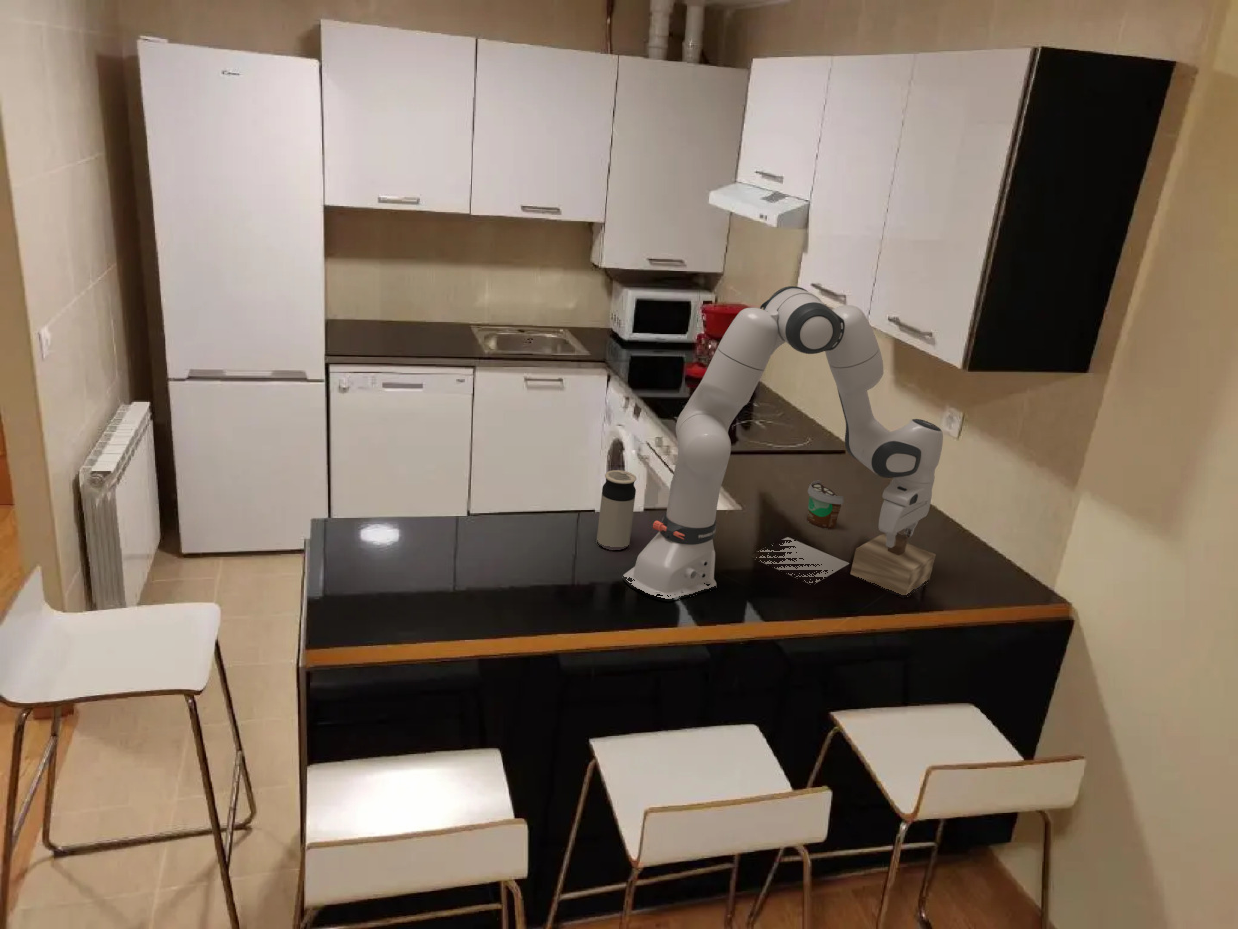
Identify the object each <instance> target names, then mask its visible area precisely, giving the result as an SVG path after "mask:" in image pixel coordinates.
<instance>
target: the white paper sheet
mask: <svg viewBox="0 0 1238 929" xmlns="http://www.w3.org/2000/svg"><path fill="white" fill-rule="evenodd" d="M782 540H791V541H792V542H790V543H788V542H789V541H788V542H787V543H786V541H785V543H784V544H783V543H782V544H783V545H780V544H779V545H780V546H795V547H796V548H795V547H794V548H793V547H791V548H790V547H789V548H790V549H789V548H785V549H784V550H783V549H782V550H780V551H774V550H771V551H770V550H768V549H767V550H765V551H764V550H762V549H760V550H759V551H760V552H772V551H773V552H786V553H785V556H784V555H783V556H784V557H783V556H779V557H778V556H777V557H778V558H785V559H786V558H791V559H792V558H797V559H796V560H797V561H796V560H794V559H793V560H794V561H795V562H794V561H792V560H791V561H790V560H788V559H786V560H785V561H783V560H782V561H783V562H782V561H780V562H779V563H777V562H775V561H774V562H775V563H774V562H772V561H770V560H769V561H770V562H769V561H767V562H765V561H764V562H765V563H764V562H762V561H761V560H760V561H761V562H760V561H759V562H760V563H763V564H765V565H767V564H772V563H773V564H804V565H805V564H810V565H811V564H814V565H815V564H816V565H817V564H819V565H820V566H819V565H817V566H816V565H815V566H816V567H815V566H813V565H811V566H810V565H809V567H808V566H807V565H806V566H804V565H803V567H802V566H800V565H799V566H800V567H799V566H797V567H798V568H797V567H796V566H795V567H796V568H797V569H796V568H795V567H793V566H791V565H790V566H791V567H789V566H787V565H786V566H787V567H786V566H785V568H784V567H783V566H781V567H782V568H781V567H779V568H778V567H777V568H775V567H774V569H775V570H778V571H780V570H822V571H821V572H822V573H821V572H820V574H819V573H817V574H816V575H814V574H813V573H812V574H813V575H814V576H815V577H823V579H822V580H824V579H825V578H824V577H826V578H828V577H829V576H830V575H832V574H834V573H836V572H837V571H839V570H841V569H843V568H844V567H846V566H848V565H849V564H850V563H849V562H848V561H845V560H842V559H840V558H838V557H835V556H833V555H831V554H828V553H826V552H824V551H821V550H819V549H817V548H815V547H812V546H809V545H807V544H805V543H803V542H800V541H798V540H796V541H794V540H795V539H793V538H791V537H788V536H787V537H785V538H783V539H782ZM771 545H772V544H771ZM772 546H773V545H772ZM761 550H762V551H761ZM759 551H757V552H759ZM787 552H792V553H791V554H789V553H788V554H787ZM796 552H797V553H796ZM768 554H769V553H768ZM762 556H763V555H762ZM762 556H760V557H759V558H766V557H765V556H763V557H762ZM768 556H769V555H767V558H773V557H774V558H777V557H775V556H776V555H775V556H773V557H771V556H769V557H768ZM756 558H757V557H756ZM799 558H803V559H804V560H803V559H799ZM771 562H772V563H771ZM821 564H822V565H821ZM824 570H828V571H827V572H828V573H827V572H825V571H824ZM832 570H833V571H832ZM823 571H824V572H823ZM816 572H817V571H816ZM814 573H815V572H814ZM825 573H826V574H825ZM792 574H793V573H792ZM792 574H789V573H788V574H787V575H789V576H791V577H793V576H792ZM799 574H800V573H799ZM809 574H810V573H809ZM812 574H810V575H811V576H810V575H808V574H807V575H808V576H809V577H814V576H812ZM794 575H795V574H794ZM803 575H804V574H803ZM798 576H799V575H798ZM798 576H796V577H798ZM801 576H802V575H801ZM801 576H799V577H801ZM808 576H806V575H804V576H802V577H808ZM796 577H795V578H796ZM810 580H811V579H810ZM804 581H805V580H804ZM804 581H803V582H804ZM815 582H816V583H817V584H818V582H821V580H820V579H819V580H817V579H816V581H815ZM804 583H807V584H809V583H813V581H812V582H810V581H809V583H808V582H806V581H805V582H804ZM816 583H815V584H816Z"/></svg>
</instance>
